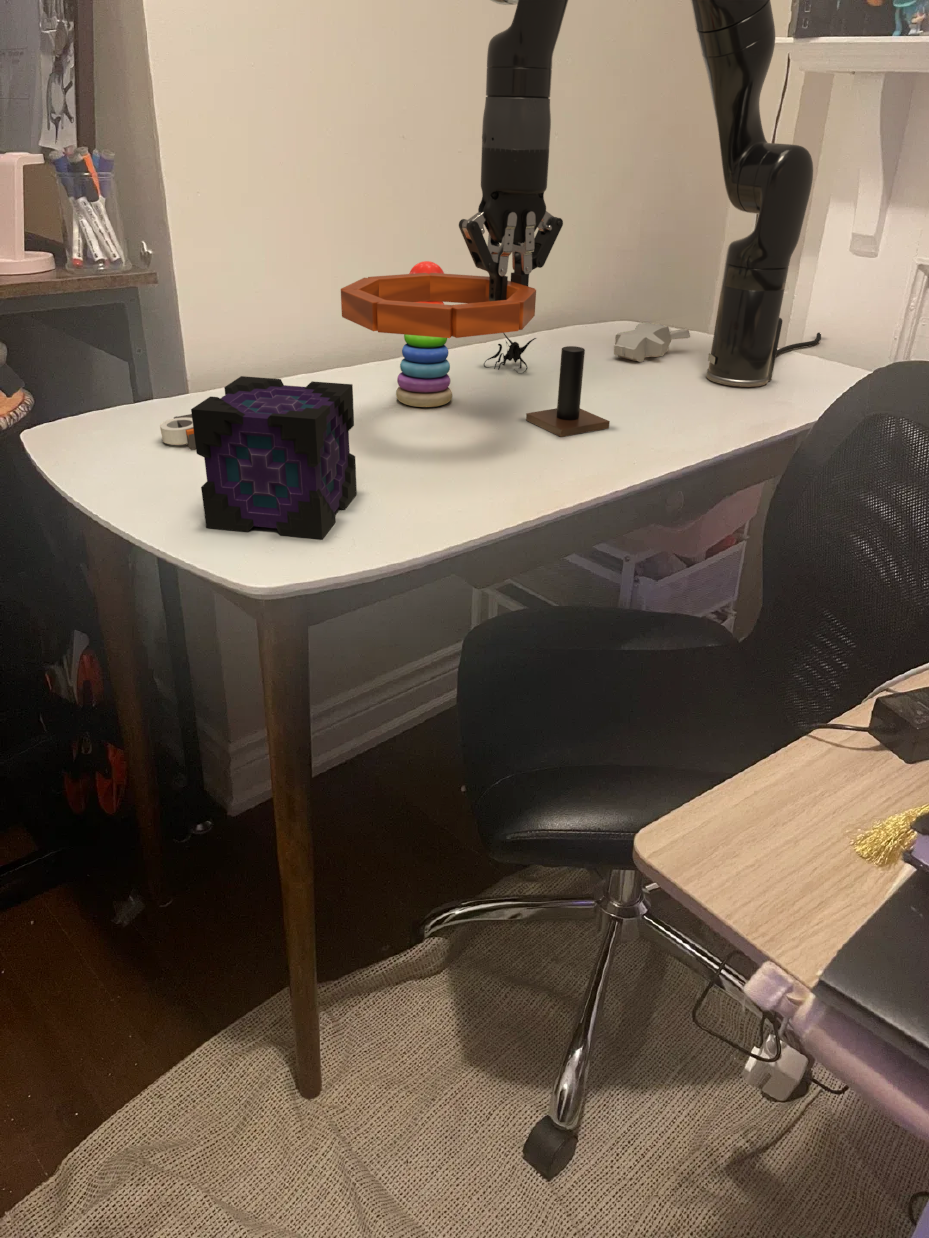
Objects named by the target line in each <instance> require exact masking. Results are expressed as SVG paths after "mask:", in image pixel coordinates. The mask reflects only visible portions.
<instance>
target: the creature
mask: <svg viewBox="0 0 929 1238" xmlns="http://www.w3.org/2000/svg"><path fill="white" fill-rule="evenodd" d="M502 335H504V337H505V338H506V339H507V340H506V339H505V340H504V341H505V344H506V346H507V347H508V349H506V353H505V354H504V352H502V349H503V344H502V343H498V344H497V346H499V348H498V351H497V352H496V353H495V354H493V355H492V356H491V357H488V358H487V359H486V360H485V361H484V363H483V367H484V368H487V369H488V368H490V366H486V365H485V364H486V362H487V361H489V360H493V359H495V358H498V359H497V361H495V364H494V365H493V366H491V368H493V369H494V370H495V369H496V368H497V370H500V368H501V366H505V365H506V364H507V361H508V362H511V361H513V362H514V364H517V361H519V369H522V367H523V366H522V364H524V365H525V369H524V371H523V372H519V371H516V368H514V369H513V368H512V370H513V371H516V373H517V374H519V375H522V374H524V373H525V372H527V371H528V365H527V362H525V361H524V359H523V358H522V356H521V355H523V353H525V351H526V349H527V348H528V347H529V345H530V344H531V343H532V342H533V341H535V340H536V339H537V337H534V338H532V339H530V340H529V341H528V342H526V344H525V345H523V346H520V344H519V342H517V341H512V340H511V339H510V338H509V337H508V336H507V335H506V333H502ZM508 342H509V343H508ZM509 344H510V345H509ZM502 358H503V361H501V360H502ZM497 363H499V364H498V365H497Z"/></svg>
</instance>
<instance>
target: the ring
mask: <svg viewBox="0 0 929 1238" xmlns="http://www.w3.org/2000/svg"><path fill="white" fill-rule="evenodd" d="M340 301H341V302H340V306H341V307H340V308H341V317H342V318H343V319H345V320H347V321H350V322H352V323H354V324H356V325H358V326H361V327H363V328H364V329H367V330H370V331H372V332H377V333H379V334H380V333H381V334H396V335H403V336H404V335H417V336H429V337H441V338H447V339H450V338H452V337H453V338H455V339H462V338H469V337H478V336H479V337H480V336H486V335H487V336H489V335H496V334H503V333H505V334H506V333H513V332H519V331H523V330H524V329H525V327H526V326H527V325H528V324H529V323H530V322H531V321H532V320H533V318H534V317H535V316H536V301H537V289H536V288H535V287H532V286H529V285H528V286H525V285H521V284H518V283H514V282H511V280H508V283H507V298H506V300H500V301H489V276H488V275H487V276H486V275H472V274H471V275H470V274H456V273H455V274H454V273H444V274H442V273H430V274H428V273H415V274H409V273H403V274H389V275H376V276H367V277H362V278H360V279H358V280H356V281H354V282H352V283H350V284H348V285H346V286H343V287H341V288H340ZM421 301H441V302H443V303H444V304H430V303H417V302H421ZM445 303H457V304H445Z"/></svg>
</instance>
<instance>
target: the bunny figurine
mask: <svg viewBox="0 0 929 1238" xmlns="http://www.w3.org/2000/svg"><path fill="white" fill-rule="evenodd" d="M614 338H615V339H614V340H615V341H614V345H613V355H615V356H616V357H618V358H621V359H626V360H631V361H636V362H639V363H643V362H644V360H645V358H650V357H653V358H658V357H662V356H663V357H664V355H665V354H666V353H667V352H668V350H669V347H670V345H671V344H672V343H671V342H672V341H673V340H683V339H685V340H686V339H690V338H691V333H690V330H689V328H680V329H675V330H672V331H670V326H668V325H665V324H662V323H658V322H655V323H652V322H648V321H643V322H640V323H638V324H637V325H636V326H635V327H634V329H632V330H627V331H621V332H617V333H616V334H615V337H614Z"/></svg>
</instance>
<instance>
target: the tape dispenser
mask: <svg viewBox="0 0 929 1238" xmlns="http://www.w3.org/2000/svg"><path fill="white" fill-rule="evenodd" d="M159 429H160V434H161V439H162V442H163V443H165V444H167V445H174V446H177V445H179V446H180V445H186V446H187V447H188V448H189V449H190V450H196V444H195V437H194V429H193V421H192V413H189V414H184V415H177V416H174V417H173V418H171V419H167V420H165V421H163V422H161V423H160V424H159Z"/></svg>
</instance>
